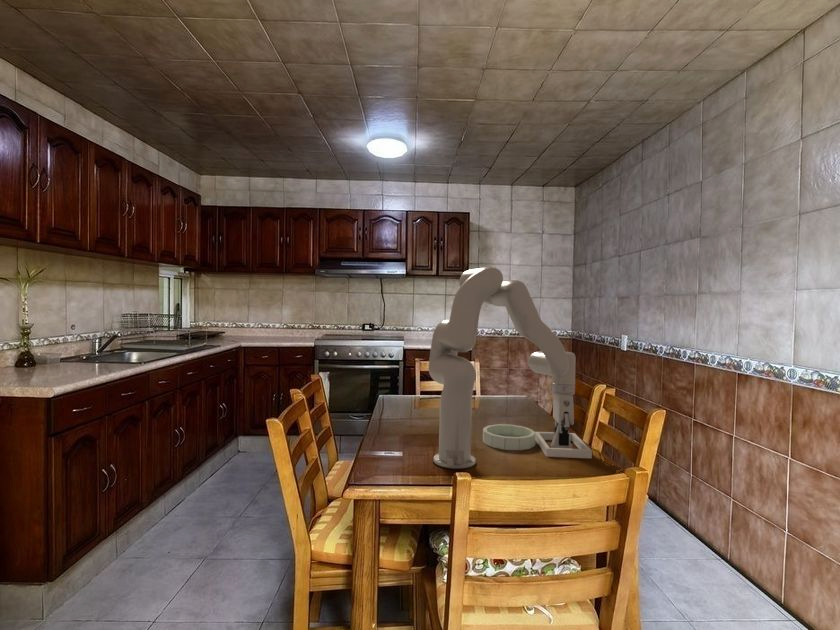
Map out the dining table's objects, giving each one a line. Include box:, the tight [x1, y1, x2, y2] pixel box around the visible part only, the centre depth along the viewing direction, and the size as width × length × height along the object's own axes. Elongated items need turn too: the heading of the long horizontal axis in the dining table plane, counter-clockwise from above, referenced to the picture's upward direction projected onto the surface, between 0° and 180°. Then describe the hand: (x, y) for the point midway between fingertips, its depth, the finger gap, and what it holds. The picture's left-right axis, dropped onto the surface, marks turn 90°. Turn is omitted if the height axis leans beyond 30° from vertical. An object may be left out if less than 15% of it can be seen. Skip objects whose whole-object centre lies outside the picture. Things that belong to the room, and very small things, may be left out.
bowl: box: [482, 423, 536, 451], centre depth 161 cm, size 17×17×4 cm
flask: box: [549, 420, 573, 449], centre depth 156 cm, size 7×7×10 cm
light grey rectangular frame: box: [534, 431, 593, 459], centre depth 156 cm, size 20×14×2 cm
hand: (561, 442), depth 156 cm, fingers open, 5 cm apart
